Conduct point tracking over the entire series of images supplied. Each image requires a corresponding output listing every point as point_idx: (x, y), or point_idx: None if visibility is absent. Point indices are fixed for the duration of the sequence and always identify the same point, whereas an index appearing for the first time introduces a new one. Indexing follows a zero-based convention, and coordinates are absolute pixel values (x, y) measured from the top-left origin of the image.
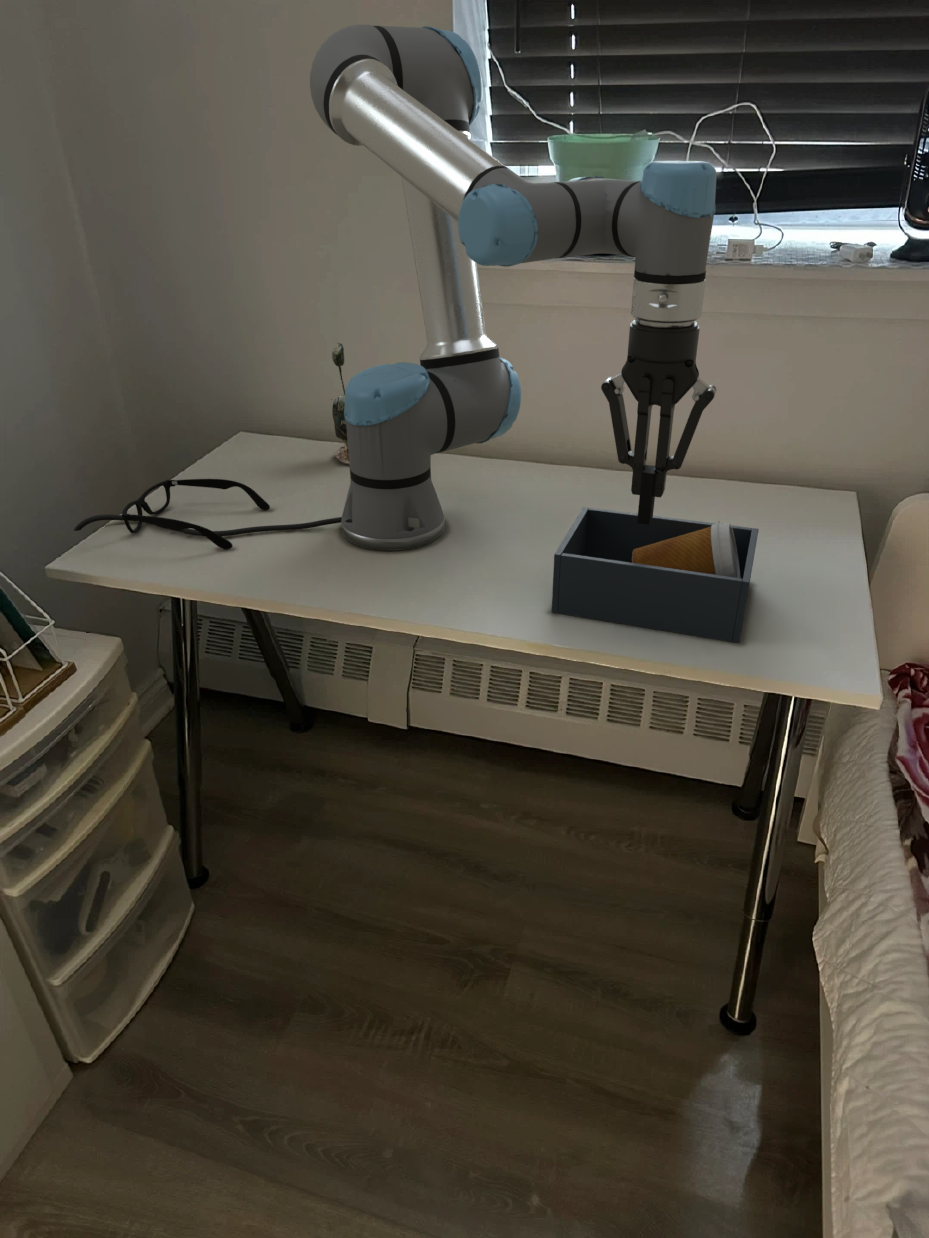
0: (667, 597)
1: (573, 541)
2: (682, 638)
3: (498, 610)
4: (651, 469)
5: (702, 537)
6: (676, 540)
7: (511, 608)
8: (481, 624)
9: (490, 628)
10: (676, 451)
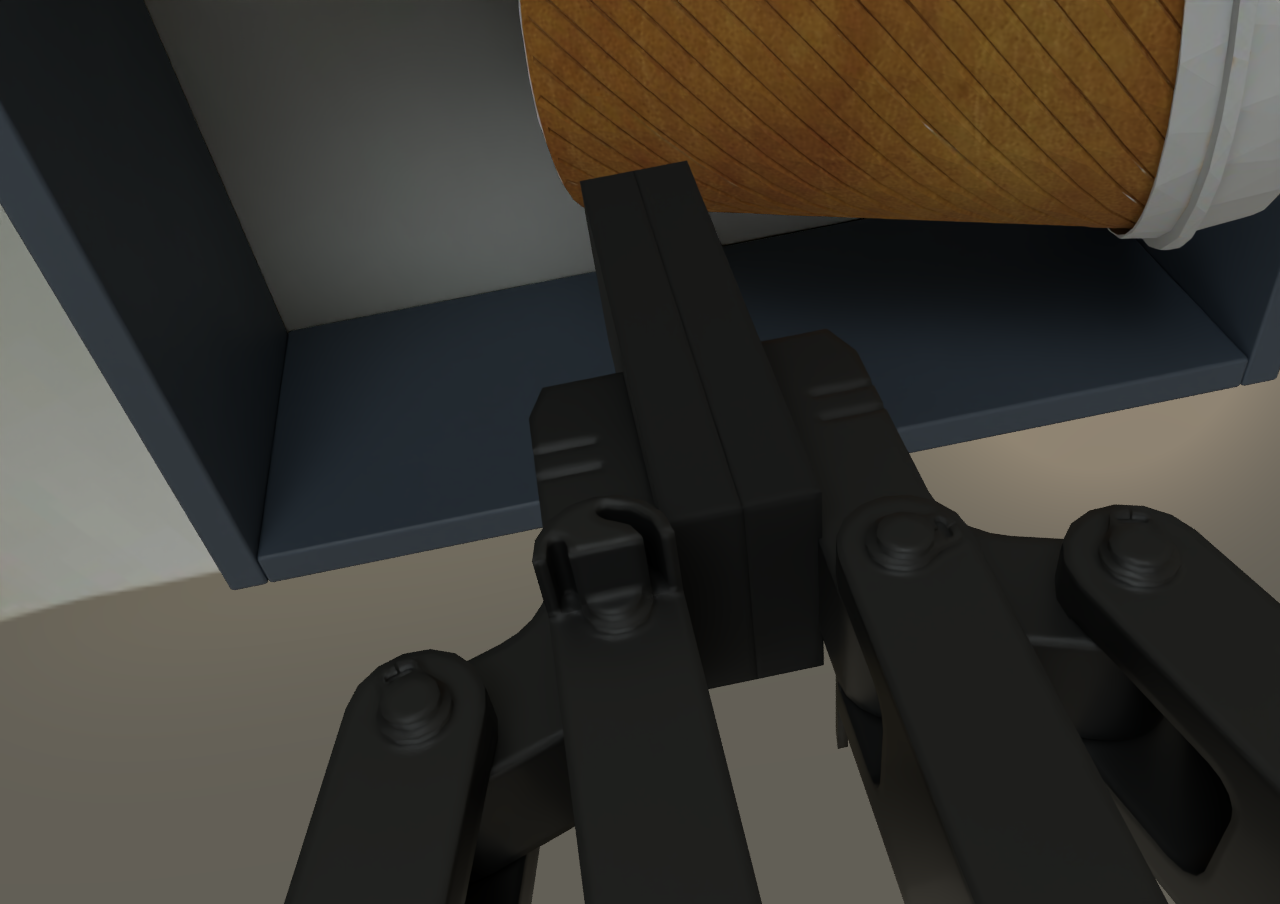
0: None
1: (134, 282)
2: None
3: (52, 450)
4: (767, 600)
5: (1082, 170)
6: (870, 128)
7: (85, 411)
8: (88, 553)
9: (141, 557)
10: (1158, 869)
